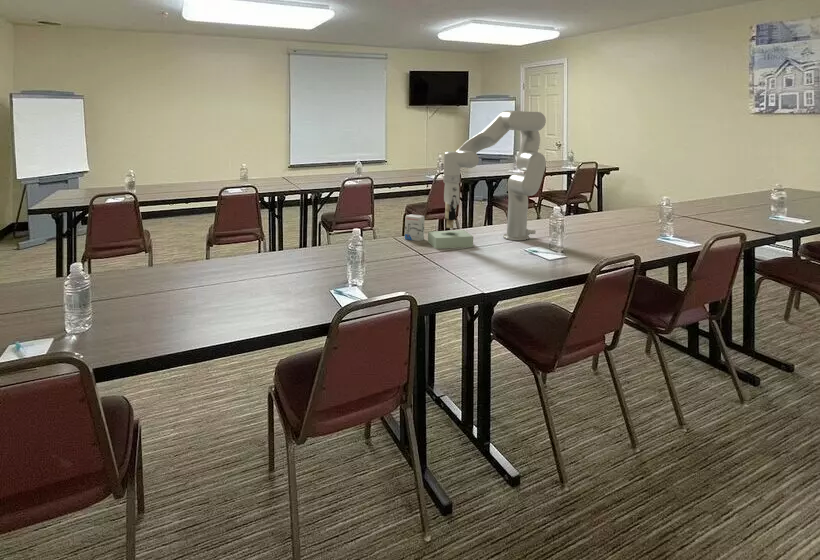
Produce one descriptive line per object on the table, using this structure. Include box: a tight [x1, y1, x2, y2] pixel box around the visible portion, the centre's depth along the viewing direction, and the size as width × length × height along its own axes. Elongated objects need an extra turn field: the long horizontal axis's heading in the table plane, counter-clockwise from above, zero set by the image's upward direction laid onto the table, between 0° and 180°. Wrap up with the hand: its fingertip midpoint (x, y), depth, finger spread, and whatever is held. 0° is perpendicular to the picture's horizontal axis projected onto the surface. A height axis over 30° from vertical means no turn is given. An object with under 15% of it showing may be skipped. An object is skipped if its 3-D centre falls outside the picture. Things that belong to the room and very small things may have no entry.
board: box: [427, 229, 474, 250], centre depth 258 cm, size 18×14×5 cm
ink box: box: [404, 213, 426, 242], centre depth 267 cm, size 9×5×12 cm, turn 62°
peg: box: [444, 202, 455, 229], centre depth 254 cm, size 5×5×12 cm
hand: (450, 218), depth 255 cm, fingers closed on peg, 4 cm apart
